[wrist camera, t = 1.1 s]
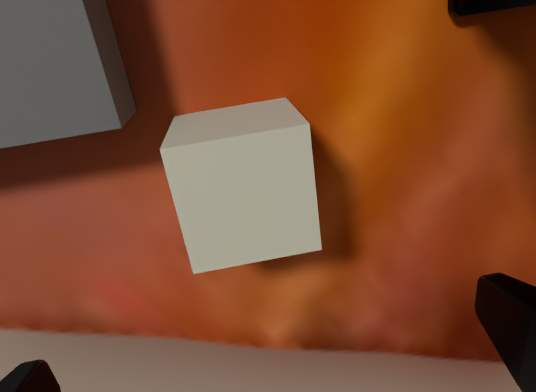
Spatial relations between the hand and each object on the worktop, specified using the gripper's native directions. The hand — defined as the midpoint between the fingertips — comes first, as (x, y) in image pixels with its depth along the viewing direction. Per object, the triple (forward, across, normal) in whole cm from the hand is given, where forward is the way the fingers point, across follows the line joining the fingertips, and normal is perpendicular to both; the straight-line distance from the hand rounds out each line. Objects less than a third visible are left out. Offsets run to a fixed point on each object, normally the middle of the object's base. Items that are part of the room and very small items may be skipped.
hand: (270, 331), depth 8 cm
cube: (+11, 0, 0) cm, 11 cm away
